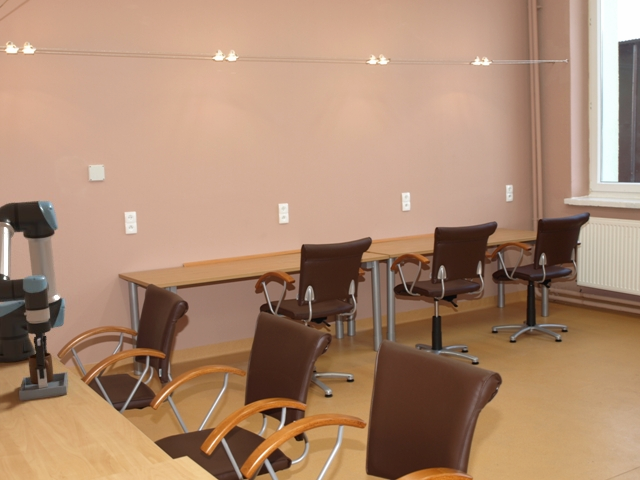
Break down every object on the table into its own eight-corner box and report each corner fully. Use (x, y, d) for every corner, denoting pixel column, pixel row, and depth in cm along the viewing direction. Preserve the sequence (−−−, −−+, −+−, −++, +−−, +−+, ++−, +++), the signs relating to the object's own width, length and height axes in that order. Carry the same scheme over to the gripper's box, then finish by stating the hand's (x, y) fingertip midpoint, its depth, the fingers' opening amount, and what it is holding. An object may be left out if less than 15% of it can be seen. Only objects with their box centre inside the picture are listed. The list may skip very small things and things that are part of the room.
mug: (60, 384, 246) (58, 358, 245) (37, 389, 242) (35, 362, 241) (50, 376, 256) (47, 351, 255) (28, 381, 252) (25, 355, 250)
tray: (24, 385, 255) (23, 377, 255) (67, 380, 260) (67, 372, 259) (19, 400, 239) (19, 392, 239) (66, 394, 244) (65, 386, 243)
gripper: (29, 314, 257) (34, 373, 259) (23, 329, 234) (30, 394, 237) (51, 312, 259) (56, 371, 262) (48, 327, 236) (54, 390, 239)
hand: (44, 382), depth 249 cm, fingers closed on mug, 11 cm apart
